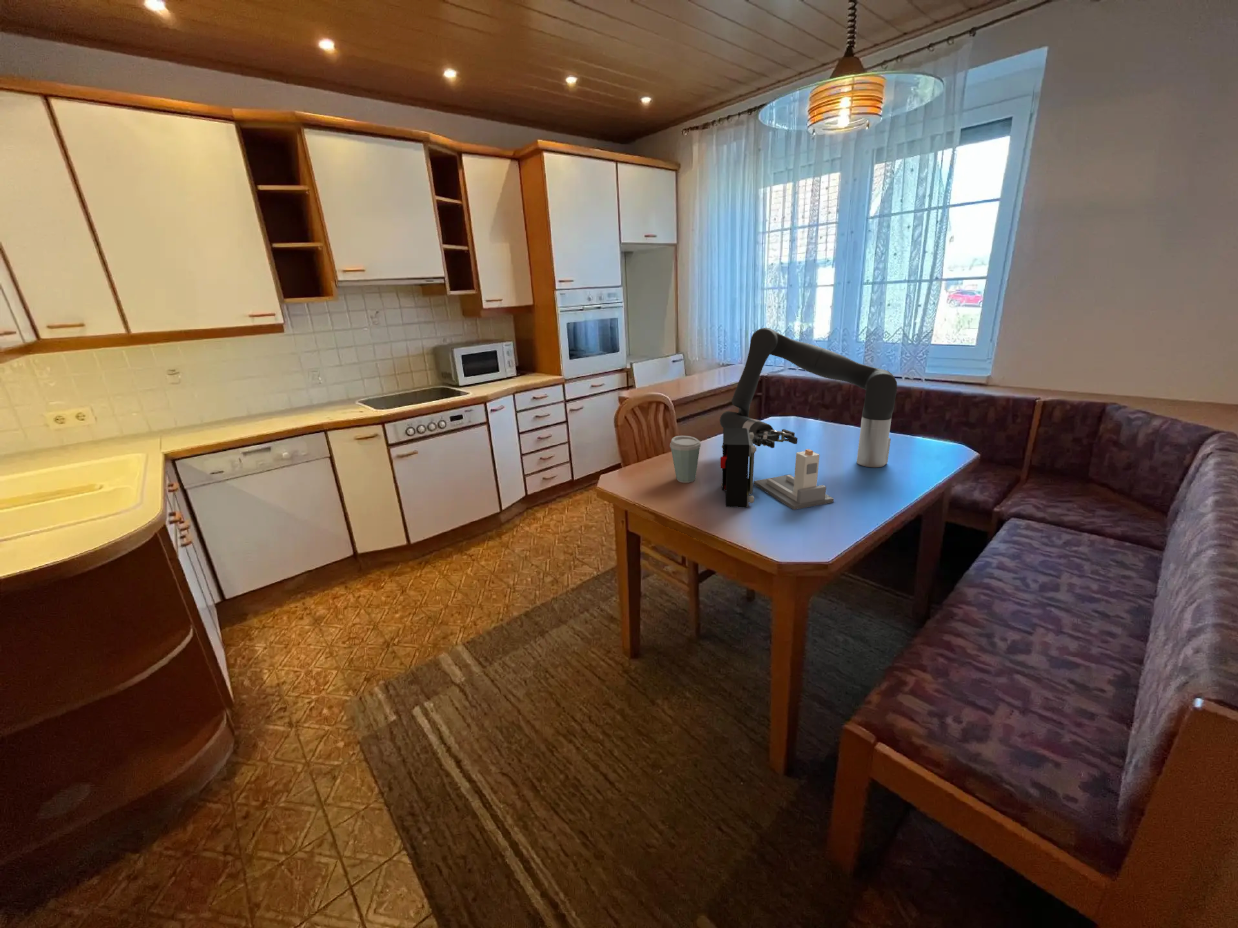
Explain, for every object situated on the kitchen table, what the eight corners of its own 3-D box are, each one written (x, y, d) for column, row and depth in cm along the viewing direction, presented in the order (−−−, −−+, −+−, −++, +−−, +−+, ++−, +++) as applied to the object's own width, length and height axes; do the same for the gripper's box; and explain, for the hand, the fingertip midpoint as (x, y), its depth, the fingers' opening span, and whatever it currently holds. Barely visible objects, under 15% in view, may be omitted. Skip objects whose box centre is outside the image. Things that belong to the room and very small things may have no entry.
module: (806, 492, 153) (810, 446, 148) (816, 498, 149) (820, 451, 144) (793, 495, 152) (796, 448, 147) (802, 501, 148) (806, 453, 143)
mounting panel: (789, 477, 169) (790, 463, 167) (833, 502, 149) (835, 486, 147) (753, 484, 165) (754, 469, 163) (793, 509, 145) (794, 493, 143)
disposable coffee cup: (704, 476, 174) (704, 435, 169) (695, 487, 165) (695, 444, 160) (676, 473, 179) (675, 433, 173) (666, 483, 169) (665, 442, 164)
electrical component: (754, 507, 148) (756, 444, 141) (719, 506, 150) (720, 444, 143) (751, 485, 164) (753, 428, 157) (720, 484, 166) (721, 428, 159)
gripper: (739, 424, 171) (766, 435, 156) (775, 418, 175) (804, 428, 160) (739, 444, 173) (765, 457, 159) (774, 438, 177) (803, 450, 162)
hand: (785, 443), depth 159 cm, fingers open, 8 cm apart
